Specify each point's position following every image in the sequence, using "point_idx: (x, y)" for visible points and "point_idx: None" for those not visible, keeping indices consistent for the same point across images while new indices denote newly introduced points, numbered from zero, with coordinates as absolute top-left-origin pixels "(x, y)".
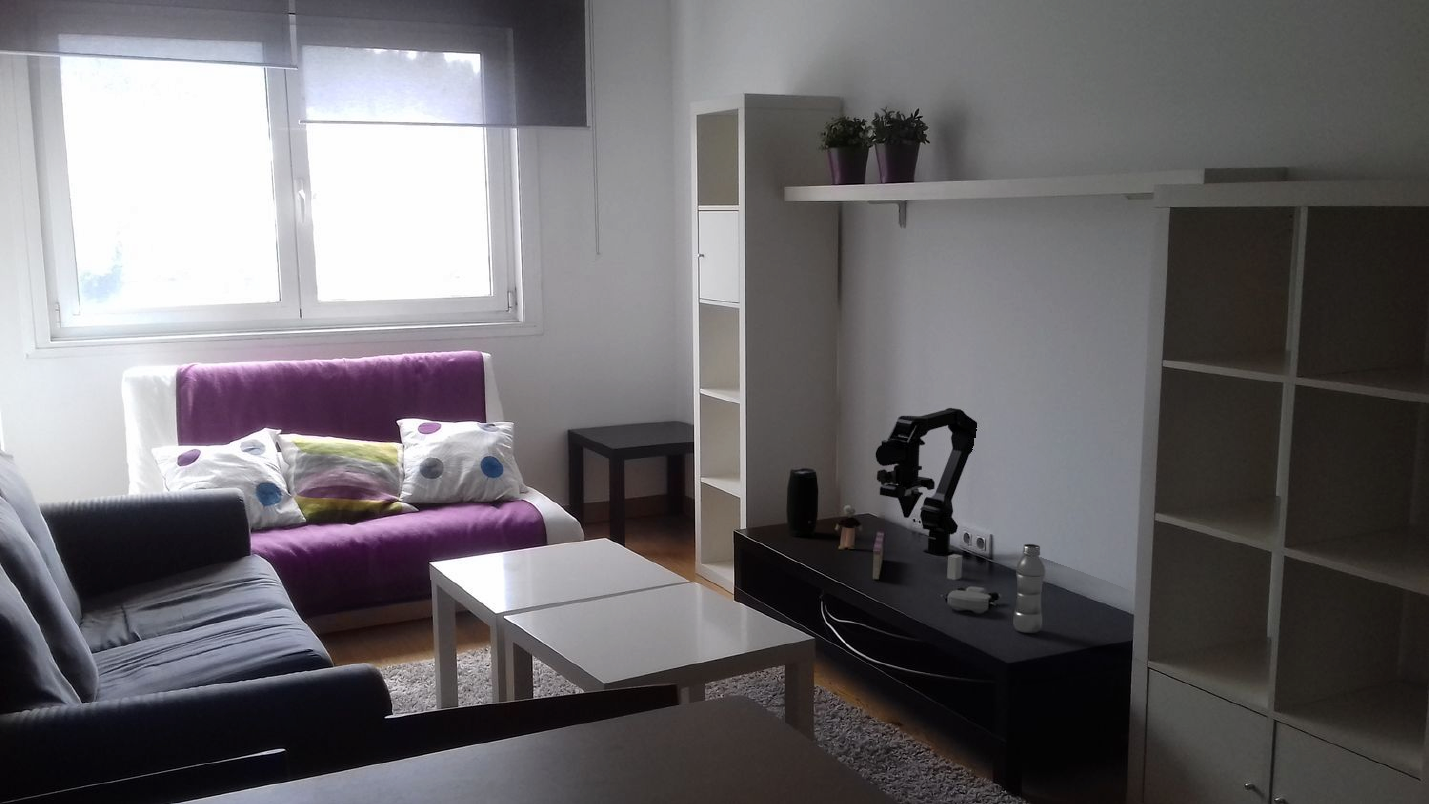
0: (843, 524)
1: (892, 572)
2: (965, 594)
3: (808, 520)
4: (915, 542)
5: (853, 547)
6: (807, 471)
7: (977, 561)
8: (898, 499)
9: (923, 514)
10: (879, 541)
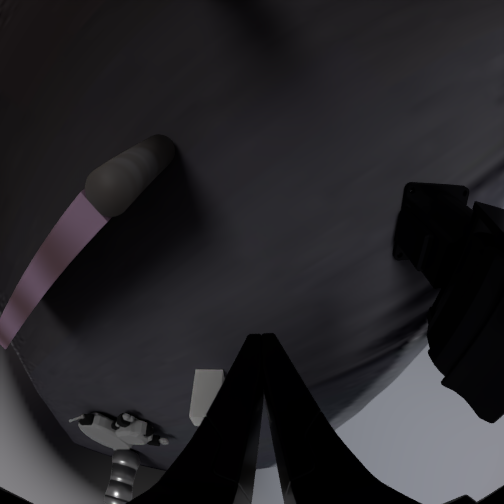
0: None
1: (103, 273)
2: (99, 436)
3: None
4: (486, 97)
5: None
6: None
7: (392, 332)
8: (157, 483)
9: (485, 282)
10: (25, 301)
